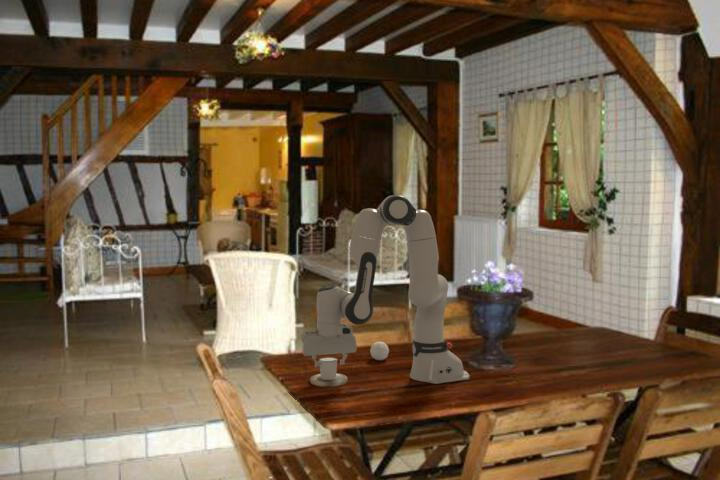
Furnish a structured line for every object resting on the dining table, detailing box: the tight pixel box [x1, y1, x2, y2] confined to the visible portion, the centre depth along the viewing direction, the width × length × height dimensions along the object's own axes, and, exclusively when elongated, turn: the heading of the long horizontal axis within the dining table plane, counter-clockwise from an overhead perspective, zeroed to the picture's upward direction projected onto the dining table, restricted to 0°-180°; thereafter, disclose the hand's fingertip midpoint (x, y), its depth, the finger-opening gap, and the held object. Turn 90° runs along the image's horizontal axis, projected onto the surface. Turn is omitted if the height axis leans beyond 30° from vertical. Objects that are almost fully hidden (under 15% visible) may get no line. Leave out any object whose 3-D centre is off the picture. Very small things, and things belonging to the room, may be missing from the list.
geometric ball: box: [369, 341, 390, 361], centre depth 298 cm, size 8×8×8 cm
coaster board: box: [309, 372, 348, 388], centre depth 268 cm, size 14×14×1 cm
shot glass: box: [318, 356, 338, 380], centre depth 268 cm, size 7×7×7 cm
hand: (329, 365), depth 267 cm, fingers open, 8 cm apart
